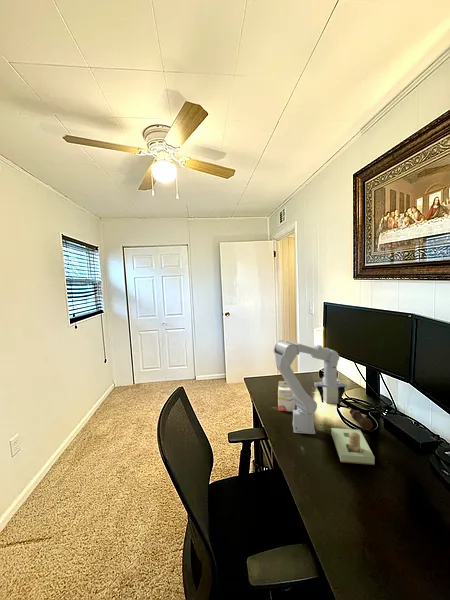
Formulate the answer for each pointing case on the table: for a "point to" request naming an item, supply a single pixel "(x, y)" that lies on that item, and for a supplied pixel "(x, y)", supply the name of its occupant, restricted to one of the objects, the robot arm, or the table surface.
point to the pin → (354, 442)
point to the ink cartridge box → (285, 397)
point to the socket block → (342, 447)
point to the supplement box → (330, 394)
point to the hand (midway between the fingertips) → (330, 401)
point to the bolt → (361, 419)
